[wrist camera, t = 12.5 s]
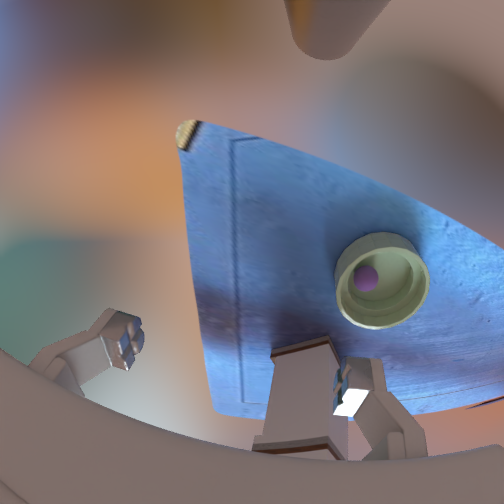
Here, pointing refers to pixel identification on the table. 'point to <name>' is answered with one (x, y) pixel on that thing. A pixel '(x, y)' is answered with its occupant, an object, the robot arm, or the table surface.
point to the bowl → (381, 281)
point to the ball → (365, 278)
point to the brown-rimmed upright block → (304, 404)
